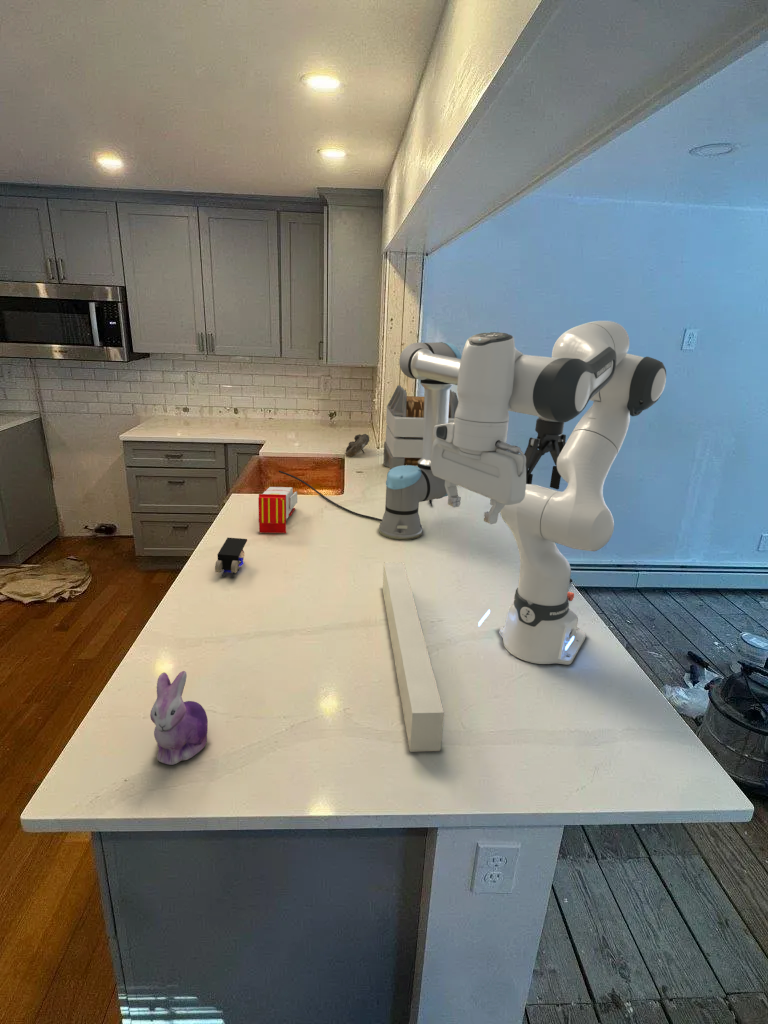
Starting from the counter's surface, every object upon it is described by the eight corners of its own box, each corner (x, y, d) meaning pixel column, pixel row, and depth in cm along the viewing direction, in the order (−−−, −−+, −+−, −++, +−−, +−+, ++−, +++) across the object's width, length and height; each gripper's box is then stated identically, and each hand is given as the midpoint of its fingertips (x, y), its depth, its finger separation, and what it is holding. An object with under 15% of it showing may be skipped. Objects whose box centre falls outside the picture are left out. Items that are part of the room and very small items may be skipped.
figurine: (158, 776, 94) (149, 701, 89) (151, 736, 102) (142, 665, 97) (216, 758, 98) (211, 685, 93) (204, 721, 107) (199, 653, 102)
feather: (430, 489, 255) (432, 485, 254) (431, 507, 228) (434, 504, 228) (427, 487, 254) (429, 483, 254) (428, 505, 228) (430, 501, 227)
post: (382, 589, 160) (383, 562, 157) (402, 589, 161) (403, 562, 158) (409, 751, 102) (412, 713, 99) (440, 751, 102) (444, 712, 99)
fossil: (345, 440, 316) (366, 424, 311) (356, 453, 319) (377, 438, 314) (339, 453, 297) (361, 437, 292) (350, 467, 300) (373, 452, 295)
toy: (299, 482, 220) (288, 496, 190) (299, 516, 222) (288, 534, 193) (267, 481, 219) (252, 495, 190) (268, 515, 222) (253, 533, 193)
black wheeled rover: (238, 584, 162) (249, 557, 175) (236, 562, 158) (247, 536, 172) (215, 584, 161) (227, 556, 175) (212, 561, 158) (225, 535, 171)
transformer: (382, 463, 289) (386, 382, 275) (445, 464, 293) (451, 384, 279) (390, 482, 257) (394, 392, 243) (460, 483, 261) (468, 394, 247)
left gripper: (533, 425, 147) (522, 502, 154) (588, 417, 162) (576, 488, 169) (510, 420, 153) (501, 495, 160) (565, 413, 167) (555, 482, 175)
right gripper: (540, 447, 87) (528, 530, 92) (454, 423, 103) (448, 495, 108) (511, 450, 84) (500, 537, 89) (427, 425, 100) (421, 499, 105)
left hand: (540, 491), depth 165 cm, fingers open, 13 cm apart
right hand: (471, 513), depth 98 cm, fingers open, 8 cm apart
